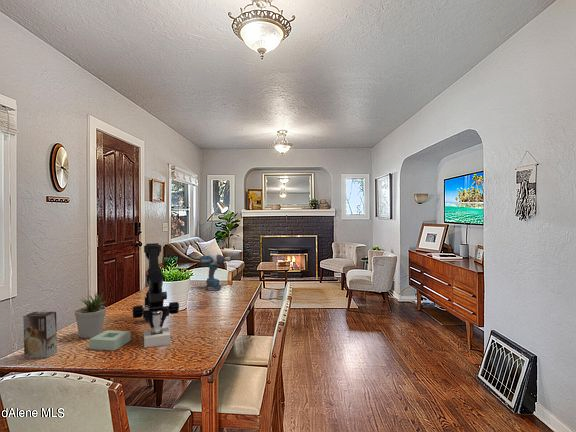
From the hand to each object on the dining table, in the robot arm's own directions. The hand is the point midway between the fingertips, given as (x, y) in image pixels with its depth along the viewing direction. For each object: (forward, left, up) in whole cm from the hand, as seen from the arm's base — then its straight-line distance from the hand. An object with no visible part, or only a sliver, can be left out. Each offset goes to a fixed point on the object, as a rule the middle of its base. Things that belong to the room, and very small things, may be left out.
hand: (156, 327), depth 149 cm
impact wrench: (-62, +80, -7) cm, 101 cm away
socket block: (-1, +1, -7) cm, 7 cm away
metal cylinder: (-1, +1, -7) cm, 7 cm away
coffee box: (-23, -35, -7) cm, 43 cm away
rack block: (-13, -13, -7) cm, 20 cm away
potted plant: (-31, -14, -7) cm, 35 cm away
